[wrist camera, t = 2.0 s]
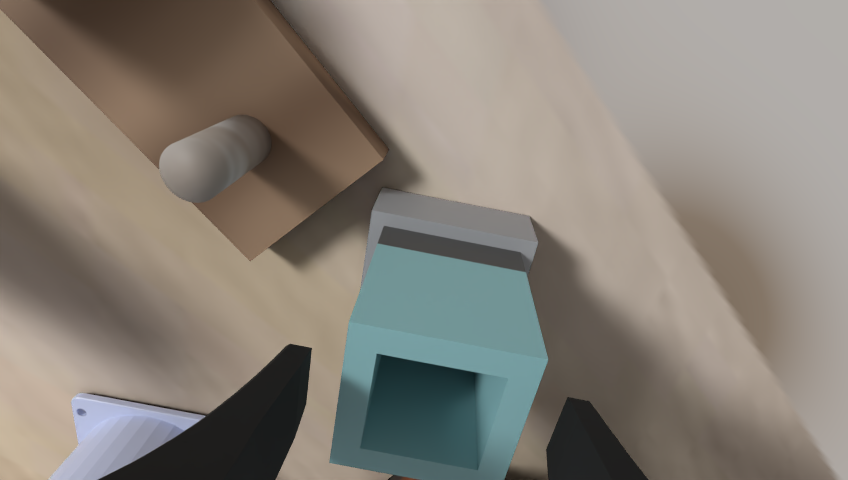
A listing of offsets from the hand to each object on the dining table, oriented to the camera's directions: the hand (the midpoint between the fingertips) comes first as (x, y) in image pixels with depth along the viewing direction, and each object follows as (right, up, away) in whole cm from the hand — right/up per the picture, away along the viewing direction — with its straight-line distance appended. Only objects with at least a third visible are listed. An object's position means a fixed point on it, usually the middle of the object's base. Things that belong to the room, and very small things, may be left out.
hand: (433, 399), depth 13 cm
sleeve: (0, +2, +5) cm, 6 cm away
